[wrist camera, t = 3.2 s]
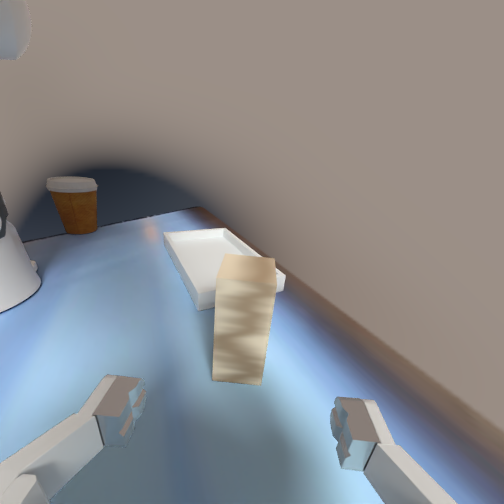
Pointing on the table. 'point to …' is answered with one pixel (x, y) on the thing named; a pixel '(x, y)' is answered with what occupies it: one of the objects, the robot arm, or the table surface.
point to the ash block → (243, 317)
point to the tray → (205, 260)
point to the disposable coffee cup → (75, 203)
